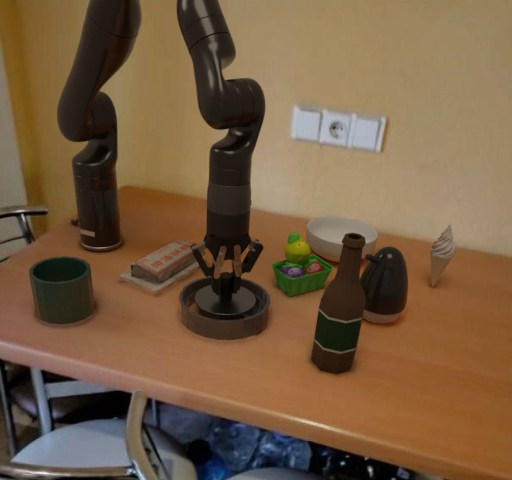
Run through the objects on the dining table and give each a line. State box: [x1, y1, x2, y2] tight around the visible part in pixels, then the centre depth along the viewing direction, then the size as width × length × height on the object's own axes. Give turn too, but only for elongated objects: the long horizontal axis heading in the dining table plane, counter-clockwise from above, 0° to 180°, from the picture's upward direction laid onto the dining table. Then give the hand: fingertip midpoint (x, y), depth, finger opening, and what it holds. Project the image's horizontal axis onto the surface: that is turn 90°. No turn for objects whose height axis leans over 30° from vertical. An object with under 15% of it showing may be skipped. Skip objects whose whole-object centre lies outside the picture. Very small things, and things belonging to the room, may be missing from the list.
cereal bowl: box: [305, 215, 379, 264], centre depth 133 cm, size 17×17×7 cm
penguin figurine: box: [360, 245, 409, 325], centre depth 109 cm, size 10×10×15 cm
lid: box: [194, 271, 256, 318], centre depth 106 cm, size 12×12×6 cm
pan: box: [178, 276, 271, 341], centre depth 108 cm, size 17×17×4 cm
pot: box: [28, 255, 96, 326], centre depth 105 cm, size 11×11×9 cm
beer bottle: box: [311, 233, 366, 375], centre depth 93 cm, size 8×8×24 cm
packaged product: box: [119, 238, 208, 295], centre depth 121 cm, size 18×5×10 cm
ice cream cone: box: [429, 223, 456, 288], centre depth 121 cm, size 5×5×15 cm
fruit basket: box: [271, 231, 334, 297], centre depth 118 cm, size 11×9×11 cm
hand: (225, 292), depth 106 cm, fingers closed on lid, 2 cm apart
